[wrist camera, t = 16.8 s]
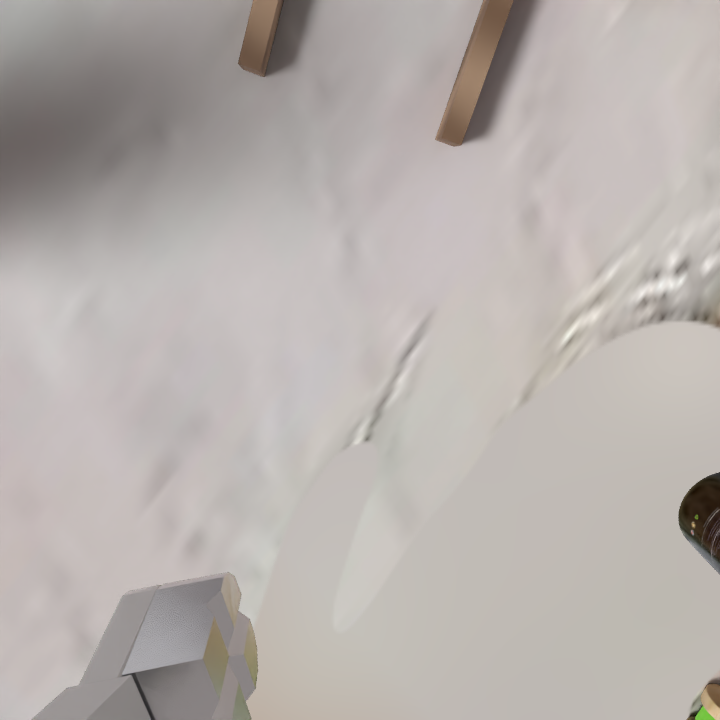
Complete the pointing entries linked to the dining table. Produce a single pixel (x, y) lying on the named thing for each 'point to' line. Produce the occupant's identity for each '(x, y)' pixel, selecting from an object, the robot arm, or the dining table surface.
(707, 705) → the toy lion
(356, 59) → the dining table surface
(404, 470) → the dining table surface
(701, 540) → the supplement bottle
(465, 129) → the channel
